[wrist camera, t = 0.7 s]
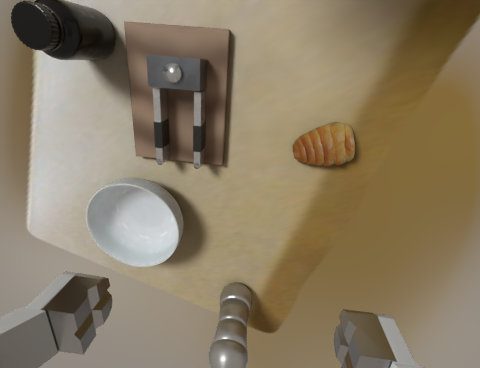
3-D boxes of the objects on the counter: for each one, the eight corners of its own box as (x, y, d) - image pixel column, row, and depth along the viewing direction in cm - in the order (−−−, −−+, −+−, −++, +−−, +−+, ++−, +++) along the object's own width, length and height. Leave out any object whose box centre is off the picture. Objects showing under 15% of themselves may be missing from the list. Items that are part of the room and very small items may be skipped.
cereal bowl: (121, 152, 48) (98, 165, 41) (204, 195, 50) (195, 214, 43) (97, 221, 55) (74, 242, 48) (171, 257, 56) (158, 281, 50)
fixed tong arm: (160, 86, 41) (151, 88, 38) (167, 87, 41) (159, 89, 38) (163, 158, 46) (156, 164, 43) (170, 158, 45) (163, 165, 43)
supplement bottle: (64, 20, 40) (-13, 4, 29) (101, 0, 39) (34, -26, 28) (89, 67, 42) (27, 68, 32) (125, 50, 41) (72, 44, 30)
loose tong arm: (198, 90, 40) (193, 92, 38) (206, 90, 40) (201, 92, 37) (197, 161, 45) (193, 168, 42) (204, 162, 45) (200, 169, 42)
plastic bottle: (228, 274, 57) (208, 373, 38) (257, 285, 57) (251, 388, 39) (218, 294, 59) (194, 396, 41) (246, 305, 60) (235, 410, 42)
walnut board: (129, 23, 39) (124, 21, 38) (230, 30, 38) (228, 29, 37) (139, 153, 48) (136, 156, 46) (223, 162, 47) (222, 165, 45)
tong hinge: (159, 55, 39) (144, 54, 35) (207, 59, 39) (199, 58, 34) (160, 84, 41) (146, 86, 36) (206, 88, 40) (198, 91, 36)
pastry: (295, 168, 46) (297, 176, 42) (289, 130, 43) (290, 135, 40) (352, 158, 44) (359, 166, 41) (349, 117, 42) (356, 122, 38)
